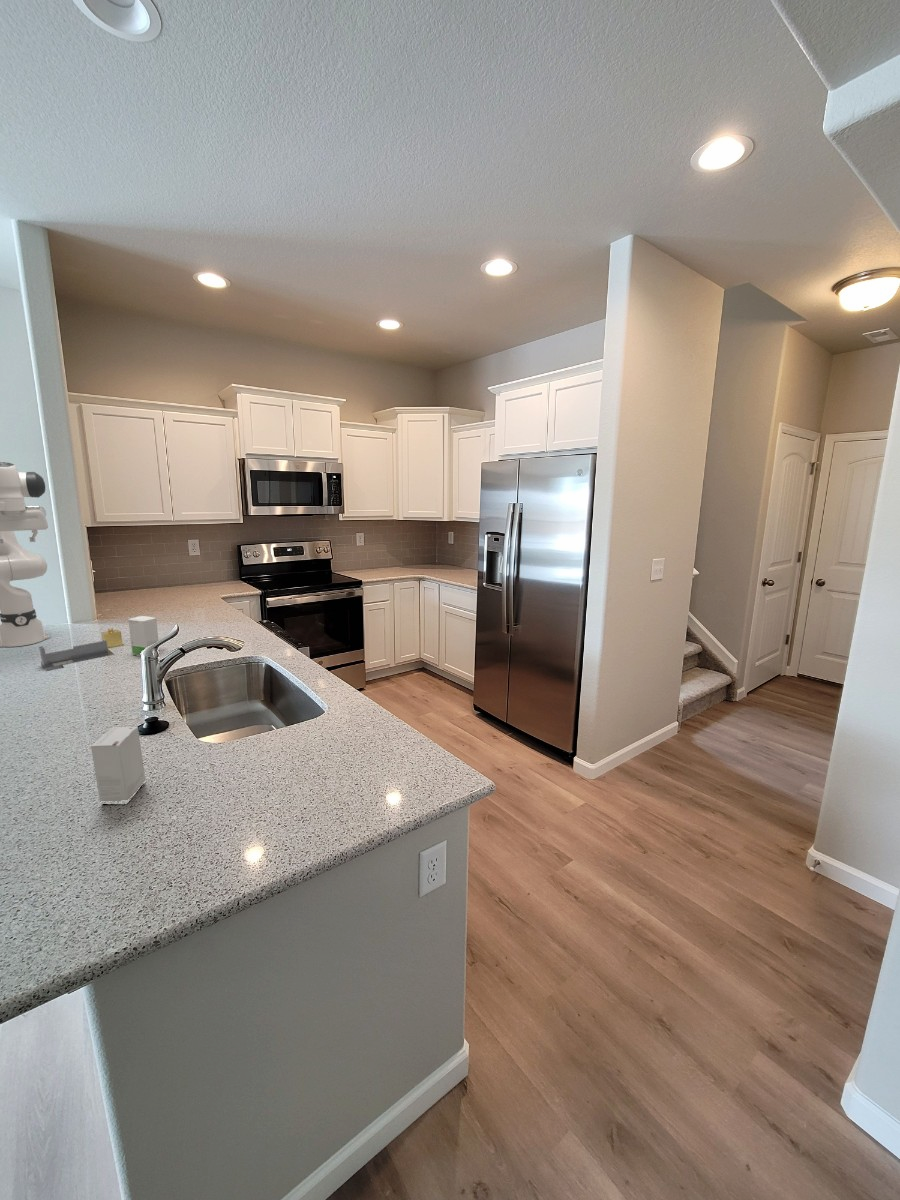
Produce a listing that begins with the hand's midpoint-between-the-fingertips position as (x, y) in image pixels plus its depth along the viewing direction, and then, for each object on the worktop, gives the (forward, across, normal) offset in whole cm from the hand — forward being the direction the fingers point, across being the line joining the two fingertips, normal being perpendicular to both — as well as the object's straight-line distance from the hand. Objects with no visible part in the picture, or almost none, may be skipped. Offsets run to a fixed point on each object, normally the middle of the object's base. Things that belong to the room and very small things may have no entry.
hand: (17, 542), depth 188 cm
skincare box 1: (+47, +10, +130) cm, 139 cm away
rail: (+47, -9, +16) cm, 50 cm away
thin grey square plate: (+47, -24, +8) cm, 53 cm away
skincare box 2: (+47, -30, +28) cm, 62 cm away
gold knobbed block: (+46, -24, +8) cm, 52 cm away
